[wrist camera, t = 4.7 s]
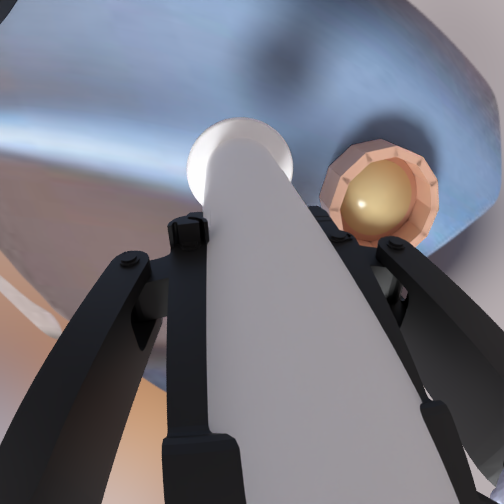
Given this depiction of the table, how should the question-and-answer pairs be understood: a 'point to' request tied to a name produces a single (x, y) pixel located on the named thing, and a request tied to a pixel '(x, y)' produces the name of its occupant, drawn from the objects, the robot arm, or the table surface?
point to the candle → (299, 343)
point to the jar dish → (381, 193)
